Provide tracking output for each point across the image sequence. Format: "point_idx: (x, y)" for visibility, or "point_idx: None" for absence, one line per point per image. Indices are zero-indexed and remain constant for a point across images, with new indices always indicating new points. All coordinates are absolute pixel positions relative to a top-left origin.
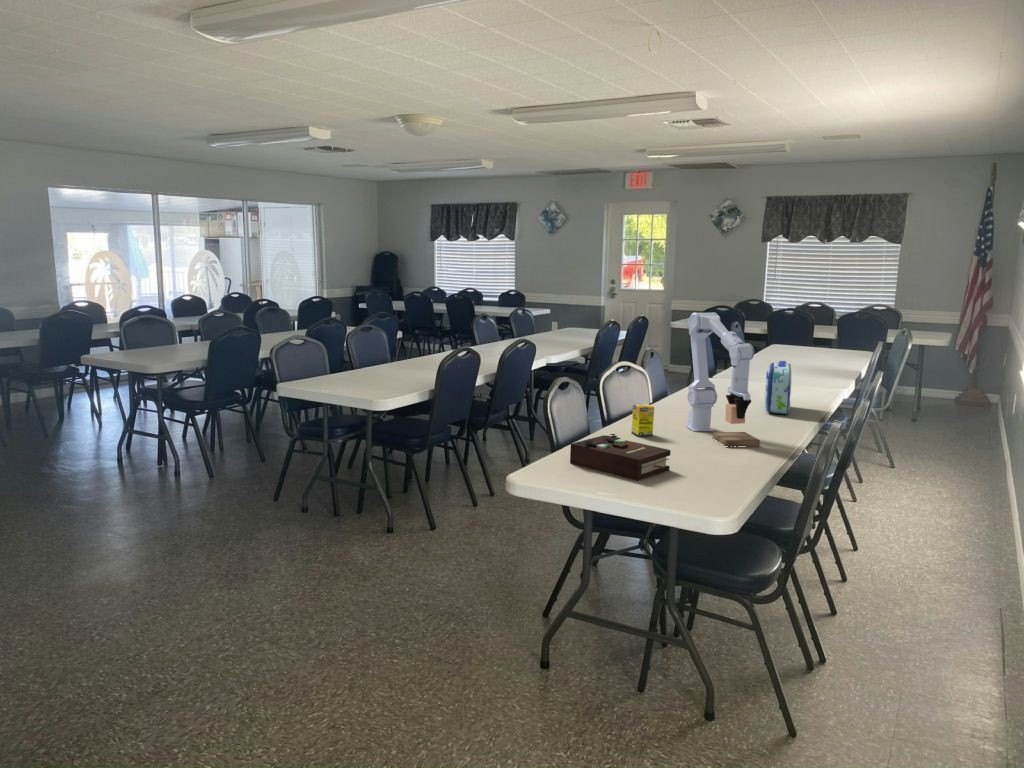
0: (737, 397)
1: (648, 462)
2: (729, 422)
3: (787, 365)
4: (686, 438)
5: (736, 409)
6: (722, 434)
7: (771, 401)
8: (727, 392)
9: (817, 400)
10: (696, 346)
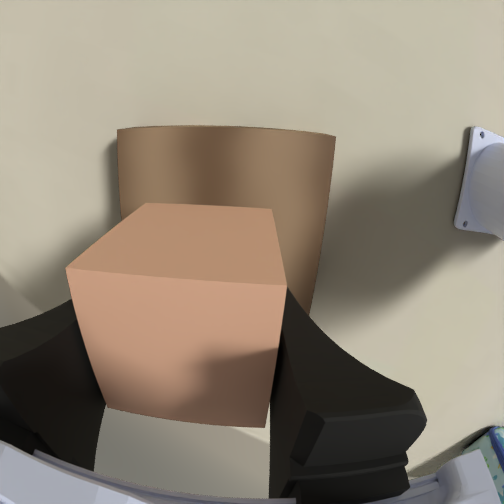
0: (277, 478)
1: None
2: (177, 205)
3: None
4: (350, 4)
5: None
6: (268, 168)
7: (493, 450)
8: (81, 478)
9: None
10: None
